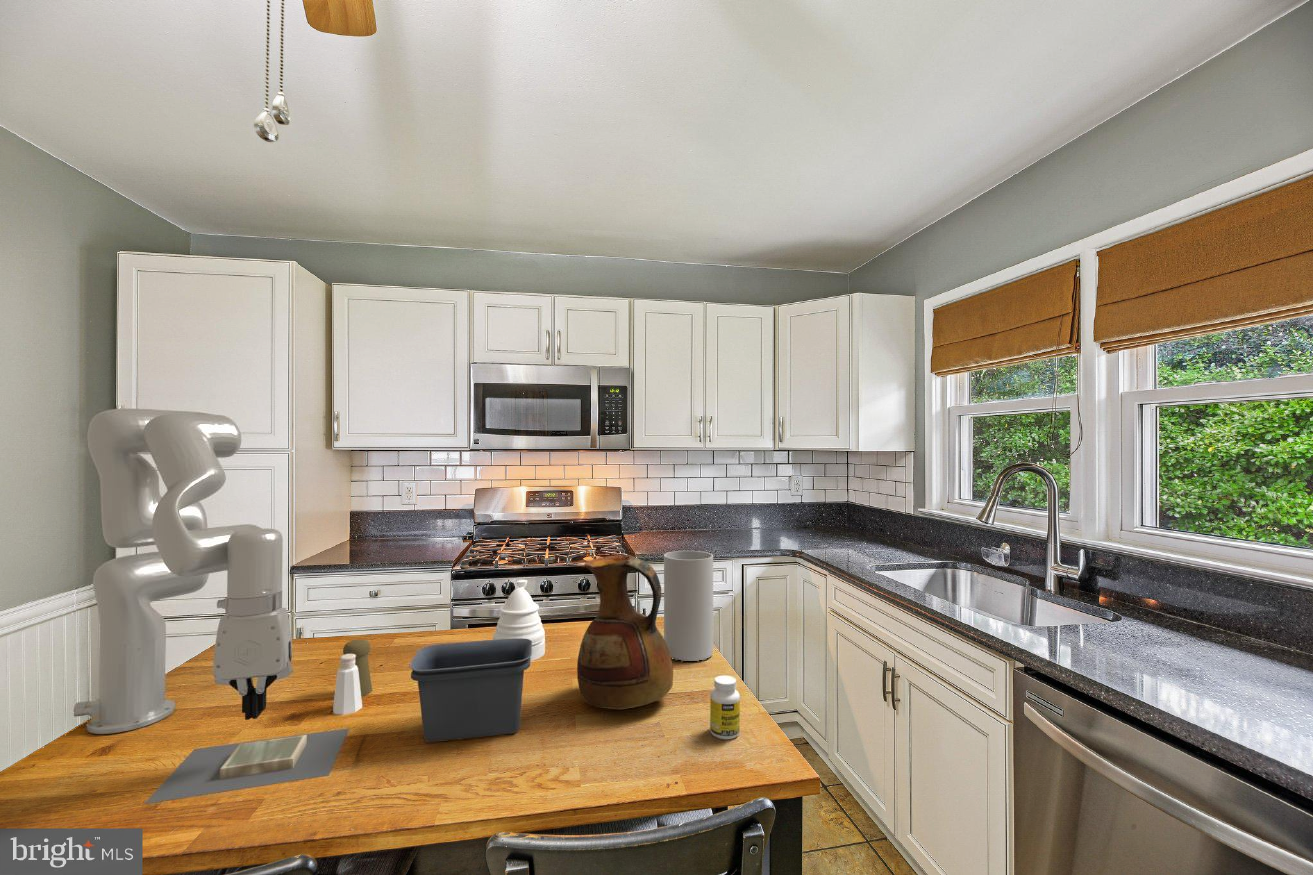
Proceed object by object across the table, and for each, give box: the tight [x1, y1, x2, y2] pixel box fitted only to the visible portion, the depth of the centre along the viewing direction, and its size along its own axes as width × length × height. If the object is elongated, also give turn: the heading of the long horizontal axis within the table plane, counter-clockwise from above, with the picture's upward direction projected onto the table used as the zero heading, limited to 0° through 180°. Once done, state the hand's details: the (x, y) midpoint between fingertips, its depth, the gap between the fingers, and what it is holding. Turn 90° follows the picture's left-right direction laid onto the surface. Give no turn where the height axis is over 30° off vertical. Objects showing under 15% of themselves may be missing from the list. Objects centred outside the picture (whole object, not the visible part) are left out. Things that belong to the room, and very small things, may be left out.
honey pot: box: [492, 579, 546, 662], centre depth 146 cm, size 13×13×18 cm
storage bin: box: [408, 638, 532, 743], centre depth 108 cm, size 21×16×14 cm
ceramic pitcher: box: [576, 554, 674, 710], centre depth 119 cm, size 20×20×30 cm
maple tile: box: [220, 734, 307, 779], centre depth 95 cm, size 2×8×10 cm
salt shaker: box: [332, 654, 363, 716], centre depth 114 cm, size 5×5×11 cm
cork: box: [342, 638, 373, 698], centre depth 123 cm, size 6×6×11 cm
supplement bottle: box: [709, 675, 741, 740], centre depth 105 cm, size 5×5×10 cm
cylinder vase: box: [663, 550, 714, 662], centre depth 146 cm, size 12×12×25 cm
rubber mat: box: [143, 727, 350, 805], centre depth 95 cm, size 24×16×1 cm, turn 108°
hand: (254, 715), depth 95 cm, fingers closed
